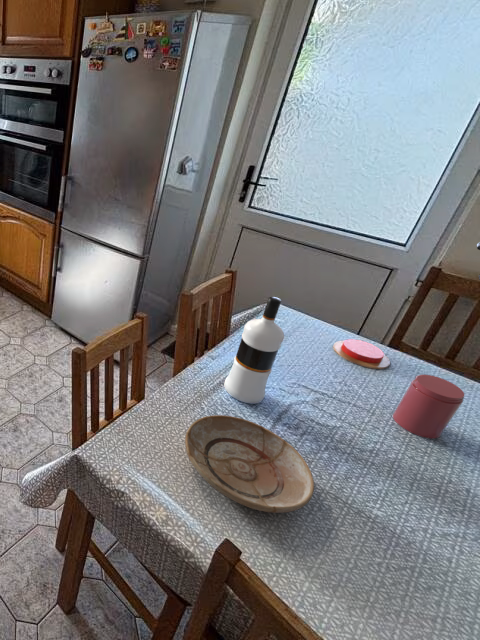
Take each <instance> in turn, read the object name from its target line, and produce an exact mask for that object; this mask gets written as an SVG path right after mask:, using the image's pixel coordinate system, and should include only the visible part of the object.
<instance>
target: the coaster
mask: <svg viewBox="0 0 480 640" xmlns="http://www.w3.org/2000/svg"><path fill="white" fill-rule="evenodd" d="M344 340H345V339H343V340H337V341H335V342H334V343H333V345H332V349H333V350H334V352H335V353H336V354H337V355H338V356H339V357H341V358H342V359H344V360H346V361H348V362H350V363H352V364H355V365H357V366H360V367H363V368H367V369H374V370H383V369H384V370H385V369H387V368H389V367H390V365H391V360H390V358H389V357H388V356H387V355H386V354H384V357H383V359H382V361H381V362H379V363H367V362H363V361H360V360H357V359H355V358H352V357H350V356H349V355H347V354H346V353H345V352H344V351H343V350H342V349H341V346H342V344H343V342H344Z"/></svg>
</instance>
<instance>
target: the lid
mask: <svg viewBox="0 0 480 640" xmlns="http://www.w3.org/2000/svg"><path fill="white" fill-rule="evenodd" d="M343 340H344V342H343V344H342V346H341V349H342V350H343V351H344V352H345V353H346V354H347V355H349V356H350V357H352V358H355V359H357V360H360V361H363V362H367V363H379V362H381V361H382V359H383V357H384V355H385V352H384V351H383V350H382V349H381V348H379V347H378V346H376V345H374V344H373V343H370V342H367V341H365V340H361V339H355V338H347V339H343Z"/></svg>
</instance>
